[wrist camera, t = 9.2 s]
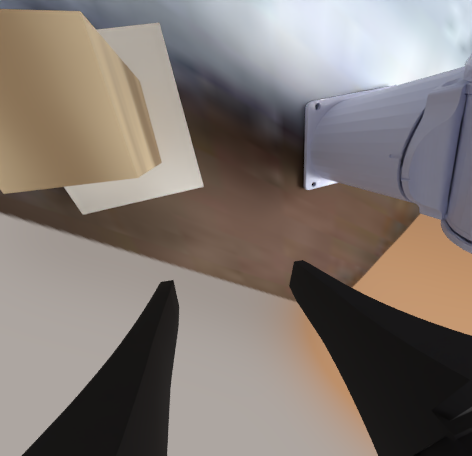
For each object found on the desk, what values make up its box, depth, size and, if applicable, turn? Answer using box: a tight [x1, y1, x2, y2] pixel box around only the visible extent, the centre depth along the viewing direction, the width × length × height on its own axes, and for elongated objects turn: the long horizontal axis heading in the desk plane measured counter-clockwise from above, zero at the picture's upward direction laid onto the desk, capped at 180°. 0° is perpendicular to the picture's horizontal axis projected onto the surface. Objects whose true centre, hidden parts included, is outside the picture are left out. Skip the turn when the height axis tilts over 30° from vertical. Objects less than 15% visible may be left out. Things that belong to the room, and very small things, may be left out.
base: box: [64, 23, 204, 215], centre depth 12 cm, size 9×9×3 cm
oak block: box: [0, 9, 162, 194], centre depth 8 cm, size 4×4×6 cm
